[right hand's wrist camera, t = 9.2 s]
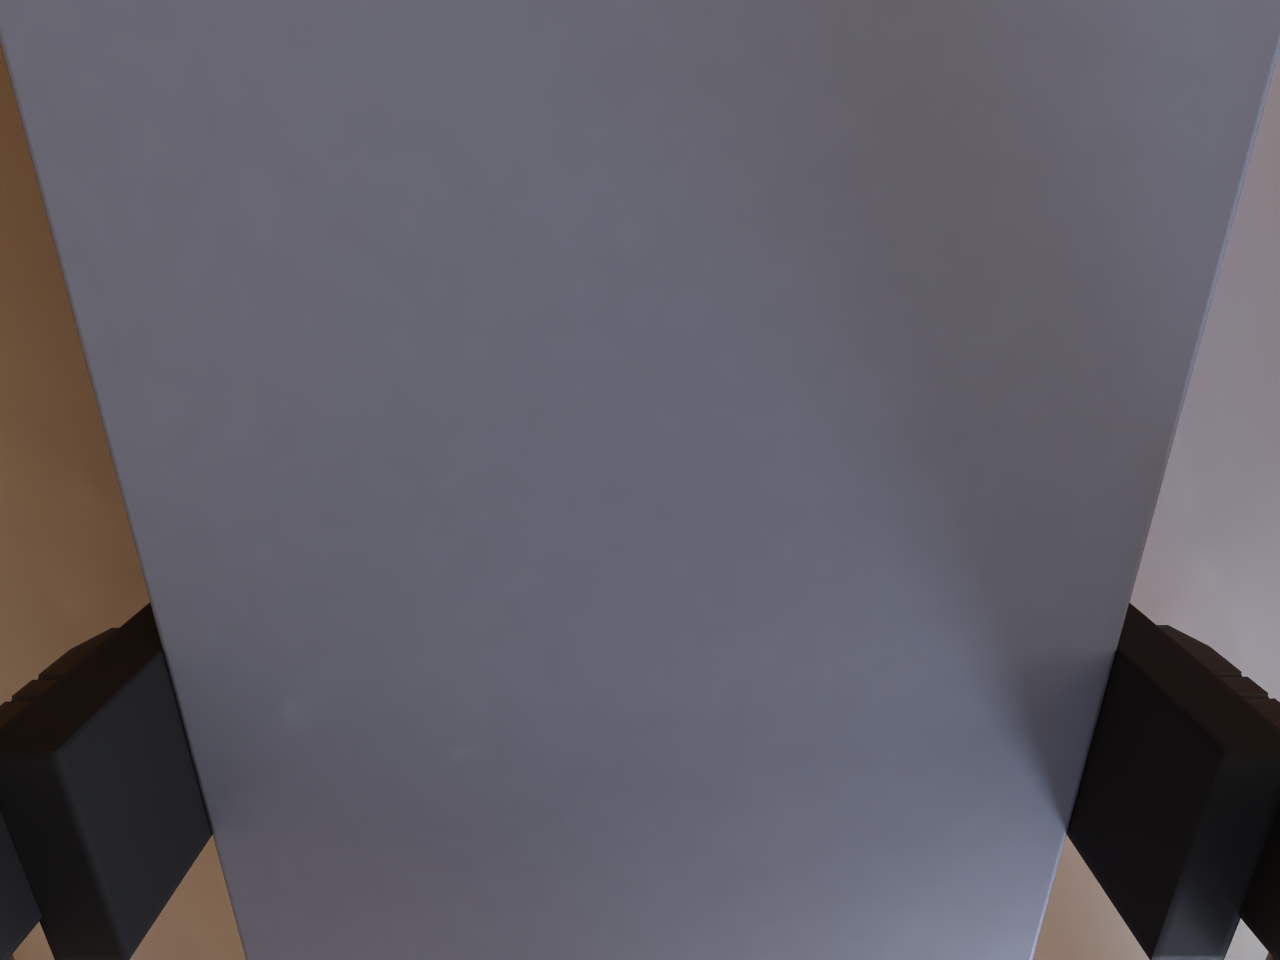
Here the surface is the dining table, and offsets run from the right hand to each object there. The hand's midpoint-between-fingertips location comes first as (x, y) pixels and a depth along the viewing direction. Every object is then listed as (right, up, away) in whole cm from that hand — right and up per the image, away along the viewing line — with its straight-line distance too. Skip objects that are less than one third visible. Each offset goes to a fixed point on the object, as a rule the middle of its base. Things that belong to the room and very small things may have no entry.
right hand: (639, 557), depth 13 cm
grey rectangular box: (0, +7, +2) cm, 7 cm away
